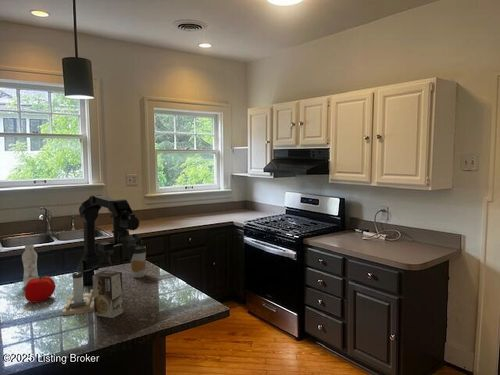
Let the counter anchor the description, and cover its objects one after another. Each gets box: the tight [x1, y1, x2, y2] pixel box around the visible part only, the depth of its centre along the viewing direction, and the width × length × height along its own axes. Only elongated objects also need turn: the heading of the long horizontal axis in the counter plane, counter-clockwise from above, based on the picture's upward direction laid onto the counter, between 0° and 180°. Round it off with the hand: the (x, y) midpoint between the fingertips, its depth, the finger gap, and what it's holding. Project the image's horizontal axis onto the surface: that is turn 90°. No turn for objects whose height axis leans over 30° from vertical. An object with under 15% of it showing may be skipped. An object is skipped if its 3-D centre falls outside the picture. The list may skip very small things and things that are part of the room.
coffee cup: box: [130, 245, 147, 279], centre depth 190 cm, size 8×8×15 cm
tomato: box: [24, 275, 56, 303], centre depth 157 cm, size 11×13×10 cm
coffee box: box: [92, 270, 124, 319], centre depth 141 cm, size 9×6×16 cm
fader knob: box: [71, 271, 86, 307], centre depth 146 cm, size 4×5×13 cm
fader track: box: [61, 289, 94, 316], centre depth 152 cm, size 19×11×3 cm, turn 18°
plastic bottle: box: [21, 243, 39, 287], centre depth 176 cm, size 6×7×20 cm
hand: (121, 262), depth 161 cm, fingers open, 9 cm apart
